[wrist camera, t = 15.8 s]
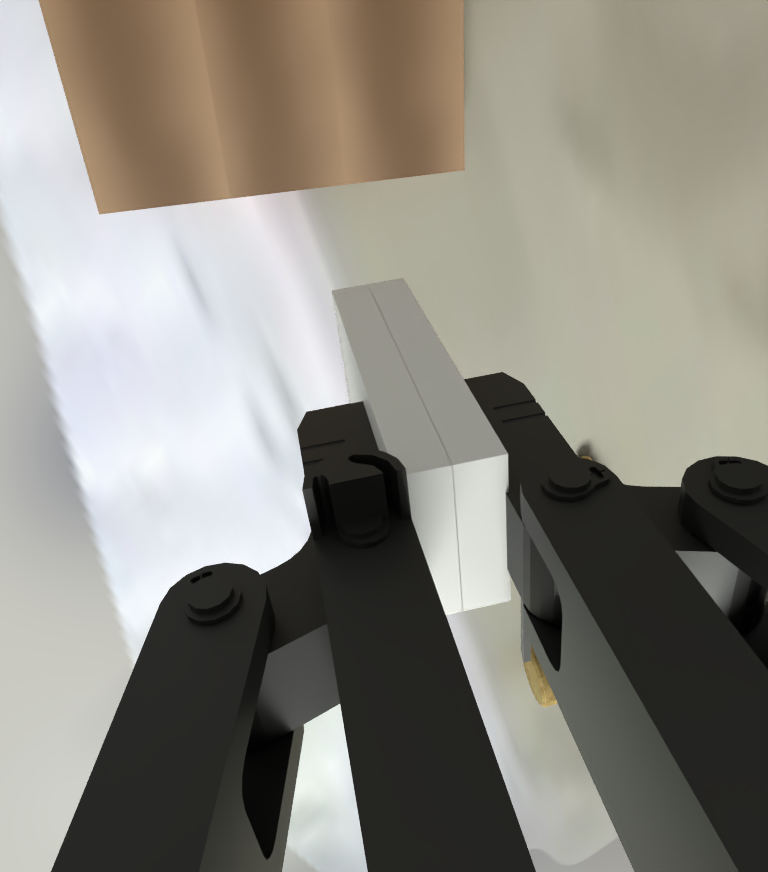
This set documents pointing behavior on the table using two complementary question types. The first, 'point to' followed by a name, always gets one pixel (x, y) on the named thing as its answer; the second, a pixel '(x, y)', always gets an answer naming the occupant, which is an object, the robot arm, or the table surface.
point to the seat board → (258, 94)
